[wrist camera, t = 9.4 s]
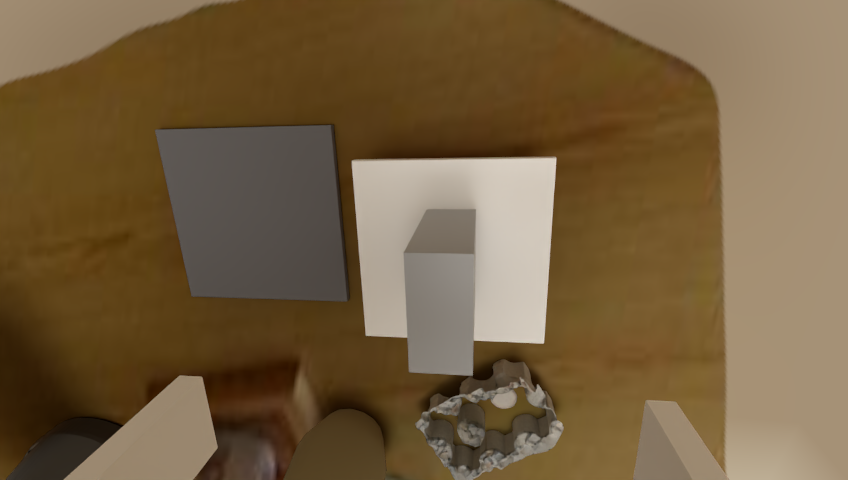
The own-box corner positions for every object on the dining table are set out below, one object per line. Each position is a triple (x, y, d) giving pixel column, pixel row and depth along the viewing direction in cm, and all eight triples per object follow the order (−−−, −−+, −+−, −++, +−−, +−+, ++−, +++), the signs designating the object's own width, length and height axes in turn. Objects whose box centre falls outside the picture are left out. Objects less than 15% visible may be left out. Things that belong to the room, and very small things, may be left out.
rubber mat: (196, 293, 36) (191, 296, 36) (160, 129, 32) (155, 129, 31) (349, 298, 34) (347, 301, 34) (333, 124, 30) (330, 125, 30)
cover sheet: (368, 329, 29) (324, 417, 21) (355, 159, 26) (295, 184, 17) (542, 337, 28) (568, 435, 19) (554, 156, 24) (592, 182, 16)
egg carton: (519, 345, 34) (524, 376, 30) (563, 412, 35) (574, 449, 32) (414, 397, 37) (406, 430, 33) (459, 456, 38) (457, 495, 34)
